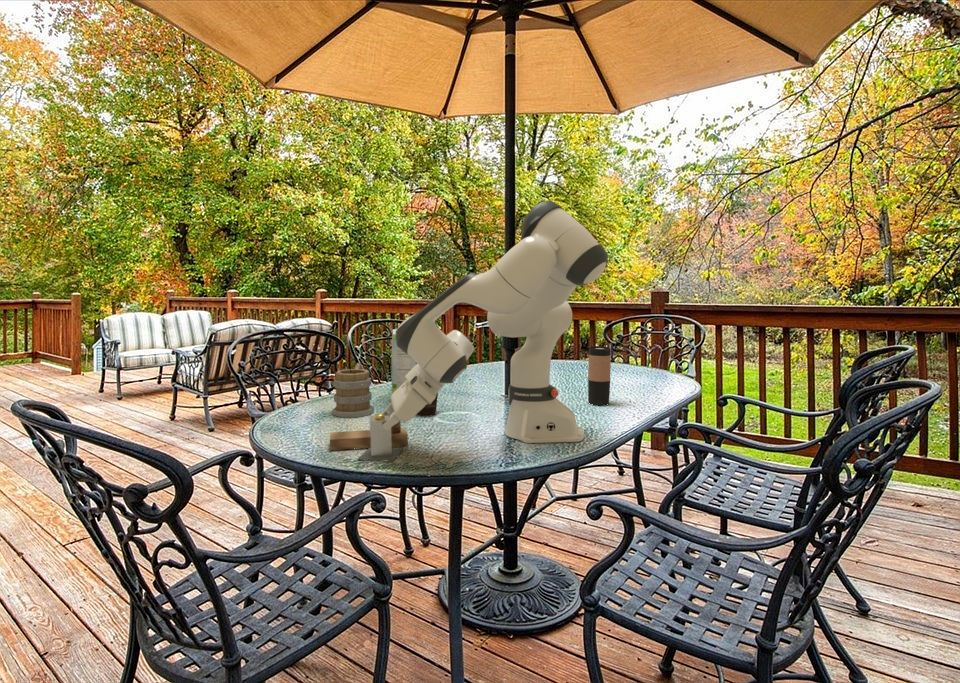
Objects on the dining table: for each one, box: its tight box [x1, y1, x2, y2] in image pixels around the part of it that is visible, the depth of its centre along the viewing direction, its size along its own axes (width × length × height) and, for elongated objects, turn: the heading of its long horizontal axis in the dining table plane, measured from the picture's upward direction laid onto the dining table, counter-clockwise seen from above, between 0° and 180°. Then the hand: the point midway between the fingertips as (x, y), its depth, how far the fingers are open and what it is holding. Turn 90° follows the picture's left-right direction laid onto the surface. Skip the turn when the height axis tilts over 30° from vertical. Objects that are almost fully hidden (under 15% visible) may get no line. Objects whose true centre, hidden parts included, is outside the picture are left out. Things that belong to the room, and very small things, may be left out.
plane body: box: [329, 420, 409, 451], centre depth 149 cm, size 20×7×6 cm, turn 103°
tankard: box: [331, 362, 375, 419], centre depth 187 cm, size 20×13×15 cm, turn 179°
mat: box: [357, 447, 404, 462], centre depth 141 cm, size 9×9×1 cm
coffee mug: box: [416, 392, 439, 417], centre depth 183 cm, size 12×9×10 cm
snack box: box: [391, 328, 417, 395], centre depth 199 cm, size 22×9×26 cm, turn 9°
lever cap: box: [369, 413, 393, 457], centre depth 140 cm, size 5×5×10 cm
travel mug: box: [587, 345, 612, 406], centre depth 196 cm, size 8×8×20 cm
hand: (383, 423), depth 141 cm, fingers open, 8 cm apart
